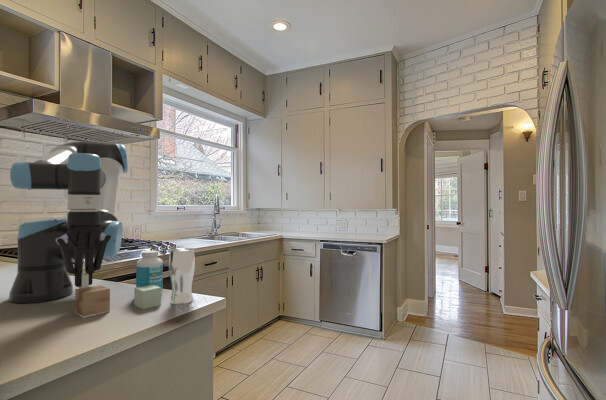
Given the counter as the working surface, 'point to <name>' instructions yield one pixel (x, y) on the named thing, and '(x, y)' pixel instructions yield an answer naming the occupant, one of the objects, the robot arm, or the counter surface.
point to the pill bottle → (149, 270)
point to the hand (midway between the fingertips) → (83, 297)
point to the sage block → (147, 296)
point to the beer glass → (181, 274)
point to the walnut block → (92, 300)
